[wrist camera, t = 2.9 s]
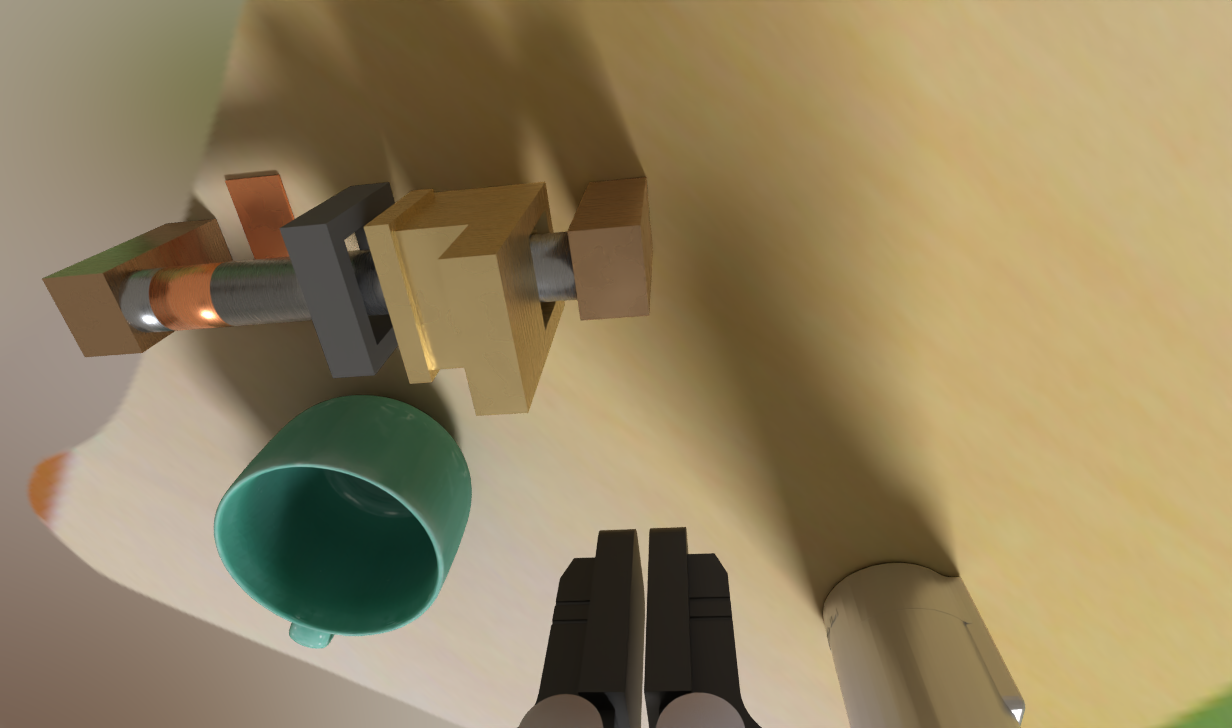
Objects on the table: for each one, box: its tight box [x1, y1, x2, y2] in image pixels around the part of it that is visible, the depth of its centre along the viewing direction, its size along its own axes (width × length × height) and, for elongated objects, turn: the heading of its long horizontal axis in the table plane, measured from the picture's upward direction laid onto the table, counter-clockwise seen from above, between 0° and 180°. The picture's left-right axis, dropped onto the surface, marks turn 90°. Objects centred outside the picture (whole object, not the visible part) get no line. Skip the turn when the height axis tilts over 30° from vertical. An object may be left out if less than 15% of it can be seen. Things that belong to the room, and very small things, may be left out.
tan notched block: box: [364, 182, 565, 416], centre depth 28 cm, size 6×7×10 cm
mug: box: [214, 395, 472, 648], centre depth 41 cm, size 17×13×10 cm
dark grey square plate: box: [279, 182, 398, 378], centre depth 32 cm, size 2×7×7 cm, turn 7°
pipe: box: [42, 175, 653, 357], centre depth 33 cm, size 27×8×8 cm, turn 96°
